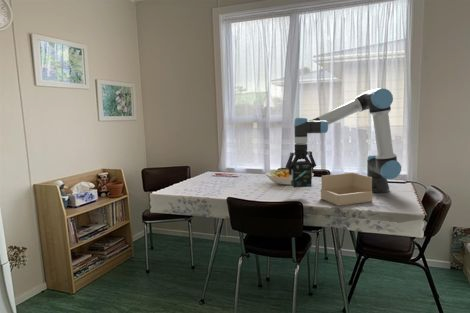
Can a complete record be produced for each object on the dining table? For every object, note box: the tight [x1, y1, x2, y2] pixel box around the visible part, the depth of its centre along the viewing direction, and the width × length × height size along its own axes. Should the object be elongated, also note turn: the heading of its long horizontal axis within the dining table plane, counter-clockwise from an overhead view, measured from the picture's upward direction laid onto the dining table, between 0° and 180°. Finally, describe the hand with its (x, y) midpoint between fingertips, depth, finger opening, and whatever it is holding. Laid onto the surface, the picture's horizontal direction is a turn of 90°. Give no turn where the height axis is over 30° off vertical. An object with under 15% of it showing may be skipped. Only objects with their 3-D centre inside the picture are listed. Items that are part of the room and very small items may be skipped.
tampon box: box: [290, 160, 313, 188], centre depth 201 cm, size 11×9×15 cm
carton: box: [320, 172, 373, 207], centre depth 194 cm, size 22×18×14 cm
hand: (301, 179), depth 201 cm, fingers closed on tampon box, 12 cm apart
